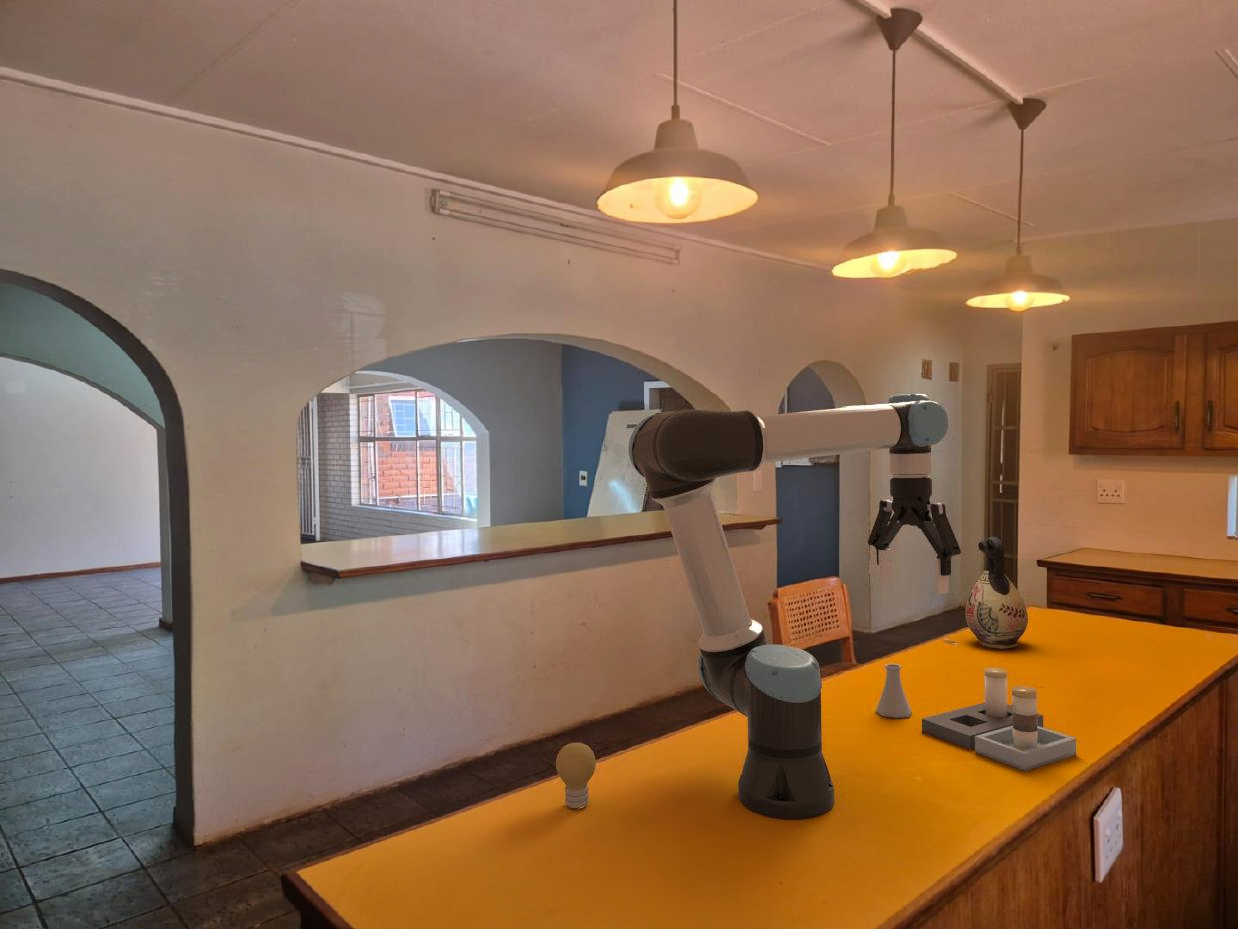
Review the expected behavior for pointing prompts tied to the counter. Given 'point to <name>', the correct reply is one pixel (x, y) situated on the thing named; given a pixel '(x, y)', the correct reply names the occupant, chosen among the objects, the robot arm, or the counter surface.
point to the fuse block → (967, 724)
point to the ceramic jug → (995, 602)
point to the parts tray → (1047, 752)
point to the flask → (893, 695)
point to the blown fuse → (1024, 718)
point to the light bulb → (576, 772)
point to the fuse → (996, 692)
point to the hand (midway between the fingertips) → (912, 587)
